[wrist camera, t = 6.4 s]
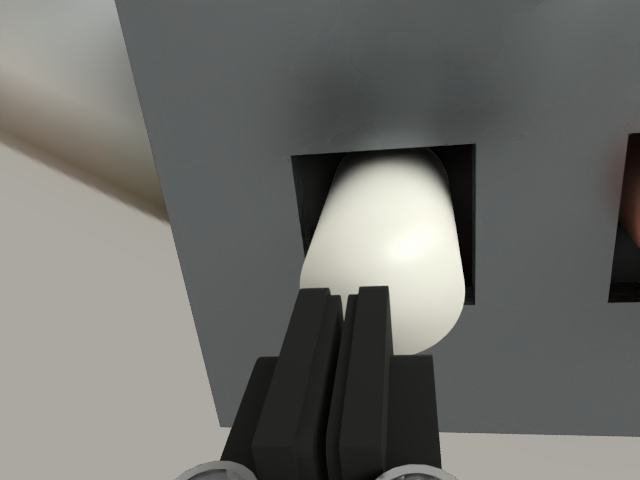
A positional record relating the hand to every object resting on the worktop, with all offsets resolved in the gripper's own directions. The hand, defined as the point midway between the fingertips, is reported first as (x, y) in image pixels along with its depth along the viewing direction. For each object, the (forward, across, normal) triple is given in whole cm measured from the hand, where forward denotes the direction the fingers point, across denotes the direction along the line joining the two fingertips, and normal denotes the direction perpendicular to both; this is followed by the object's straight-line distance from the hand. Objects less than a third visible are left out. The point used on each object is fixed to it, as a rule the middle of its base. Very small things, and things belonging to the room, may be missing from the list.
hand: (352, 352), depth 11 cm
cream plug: (+8, -1, 0) cm, 8 cm away
